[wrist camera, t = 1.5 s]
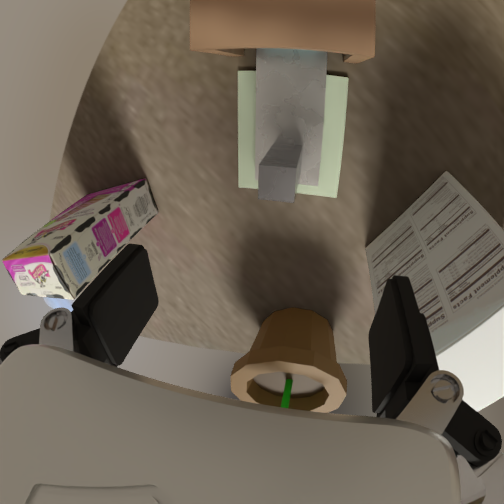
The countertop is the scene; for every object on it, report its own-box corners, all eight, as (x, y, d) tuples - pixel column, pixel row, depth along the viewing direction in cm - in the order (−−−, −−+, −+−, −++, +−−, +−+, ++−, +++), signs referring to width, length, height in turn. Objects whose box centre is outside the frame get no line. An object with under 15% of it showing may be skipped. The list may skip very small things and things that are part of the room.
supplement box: (500, 243, 26) (564, 354, 12) (426, 306, 34) (451, 426, 20) (446, 166, 24) (540, 272, 10) (362, 248, 32) (375, 387, 17)
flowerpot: (346, 293, 35) (326, 559, 11) (347, 361, 43) (326, 552, 18) (236, 297, 40) (150, 522, 15) (258, 361, 47) (207, 535, 23)
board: (238, 70, 24) (237, 70, 24) (348, 77, 22) (348, 77, 22) (239, 185, 31) (238, 187, 30) (336, 196, 29) (336, 197, 29)
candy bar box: (146, 174, 32) (48, 252, 19) (160, 212, 35) (76, 302, 22) (85, 192, 36) (-1, 260, 22) (98, 224, 38) (21, 298, 25)
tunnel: (232, -8, 19) (191, -38, 12) (357, -3, 17) (373, -38, 10) (231, 56, 23) (189, 50, 16) (356, 63, 21) (374, 56, 14)
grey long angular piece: (259, -12, 18) (234, -40, 12) (327, -10, 17) (329, -40, 11) (257, 176, 29) (235, 211, 22) (318, 182, 28) (315, 220, 21)
